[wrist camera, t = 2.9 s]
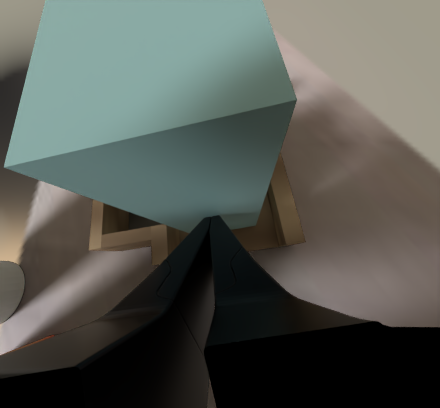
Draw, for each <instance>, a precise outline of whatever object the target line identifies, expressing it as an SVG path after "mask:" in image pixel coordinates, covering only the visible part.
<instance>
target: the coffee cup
mask: <svg viewBox="0 0 440 408" xmlns="http://www.w3.org/2000/svg"><path fill="white" fill-rule="evenodd" d="M24 286H25V278H24V274H23V271H22V269H21V267H20V266H19V265H18V264H16V263H14V262H10V261H0V324H1V323H3V322H4V321H5V320H7V319H8V318H9V317H10V316H11V315H12V314H13V312H14V311H15V310H16V308H17V307H18V305H19V303H20V301H21V298H22V296H23V292H24Z"/></svg>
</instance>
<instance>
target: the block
mask: <svg viewBox="0 0 440 408" xmlns="http://www.w3.org/2000/svg"><path fill="white" fill-rule="evenodd" d="M296 101H297V98H296V95H295V93H294V90H293V87H292V84H291V81H290V78H289V75H288V73H287V70H286V67H285V64H284V61H283V58H282V55H281V53H280V50H279V47H278V44H277V41H276V38H275V35H274V33H273V30H272V27H271V24H270V21H269V19H268V16H267V13H266V10H265V7H264V4H263V2H262V0H46V1H45V5H44V9H43V13H42V17H41V22H40V25H39V29H38V33H37V37H36V41H35V45H34V49H33V53H32V57H31V61H30V65H29V69H28V73H27V77H26V81H25V85H24V89H23V93H22V97H21V101H20V105H19V109H18V113H17V117H16V121H15V125H14V129H13V133H12V137H11V141H10V145H9V149H8V153H7V157H6V161H5V165H4V168H7V169H10V170H13V171H15V172H18V173H21V174H24V175H27V176H30V177H33V178H35V179H38V180H41V181H44V182H46V183H49V184H52V185H55V186H58V187H60V188H63V189H66V190H69V191H72V192H74V193H77V194H80V195H83V196H86V197H89V198H91V199H94V200H97V201H100V202H103V203H105V204H108V205H111V206H114V207H117V208H119V209H122V210H125V211H128V212H131V213H134V214H136V215H139V216H142V217H145V218H148V219H150V220H153V221H156V222H159V223H162V224H164V225H167V226H170V227H173V228H176V229H178V230H181V231H184V232H187V233H190V232H191V231H192V230H193V229H194V228H195V227H196V226H197V225H198V224H199V223H200V221H201V220H202V219H203V218H205V217H212V216H217V215H220V216H221V218H222V219H223V220H224V222H225V223H226V224H227V226H228V227H229V228H230V229H231V230H233V229H239V228H245V227H251V226H256V223H257V220H258V217H259V214H260V211H261V208H262V205H263V202H264V199H265V196H266V193H267V190H268V187H269V184H270V181H271V178H272V175H273V172H274V168H275V165H276V162H277V159H278V156H279V153H280V150H281V147H282V144H283V141H284V138H285V135H286V132H287V129H288V126H289V123H290V120H291V117H292V113H293V110H294V107H295V104H296Z"/></svg>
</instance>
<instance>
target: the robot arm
mask: <svg viewBox="0 0 440 408" xmlns="http://www.w3.org/2000/svg"><path fill="white" fill-rule="evenodd" d="M214 302H215V310H214ZM209 377H210V382H211V386H212V390H213V394H214V398H215V403H216V407H217V408H440V327H389V326H385V325H382V324H381V323H380V322H378V321H369V320H364V319H359V318H355V317H352V316H348V315H345V314H343V313H340V312H337V311H334V310H331V309H328V308H325V307H322V306H319V305H316V304H313V303H310V302H307V301H304V300H301V299H299V298H297V297H295V296H293V295H291V294H290V293H289V292H287V291H286V290H285V289H284V288H283V287H282V286H281V285H280V284H279V283H277V282H276V281H275V280H274V279H273V278H272V277H271V276H270V275H269V274H268V273H267V272H266V271H265V270H264V269H263V268H262V267H261V266H260V265H259V264H258V263H257V262H256V261H255V260H254V259H253V258H252V257H251V256H250V254H249V253H248V252H247V251H246V249H245V248H244V247H243V245H242V244H241V243H240V241H239V240H238V239H237V237H236V236H235V235H234V233H233V232H232V231H231V229H230V228H229V227H228V226H227V224H226V223H225V222H224V220H223V219H222V218H221V216H220V215H217V216H212V217H205V218H203V219H202V220H201V221H200V223H199V224H198V225H197V226H196V227H195V228H194V229H193V230H192V231H191V232H190V233H189V234H188V235H187V236H186V237H185V238H184V240H183V241H182V242H181V243H180V244H179V245H178V246H177V247H176V248H175V249H174V250H173V251H172V252H171V253H170V254H169V255H168V257H167V258H166V259H165V260H164V261H163V262H162V263H161V264H160V265H159V266H158V267H157V268H156V269H155V270H154V271H153V272H152V273H151V274H150V275H149V276H148V277H147V278H146V279H145V280H144V281H143V282H142V283H141V284H139V285H138V286H137V287H136V288H135V289H134V290H133V291H132V292H131V293H130V294H128V295H127V296H126V297H125V298H124V299H123V300H122V301H121V302H120V303H119V304H117V305H116V306H115V307H114V308H113V309H112V310H111V311H109V312H108V313H107V314H105V315H104V316H103V317H101V318H99V319H98V320H96V321H94V322H92V323H89V324H87V325H84V326H81V327H79V328H76V329H73V330H70V331H68V332H65V333H62V334H59V335H57V336H54V337H51V338H48V339H46V340H43V341H40V342H37V343H35V344H32V345H29V346H26V347H24V348H21V349H18V350H15V351H13V352H10V353H7V354H4V355H1V356H0V408H207V401H208V387H209Z"/></svg>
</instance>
